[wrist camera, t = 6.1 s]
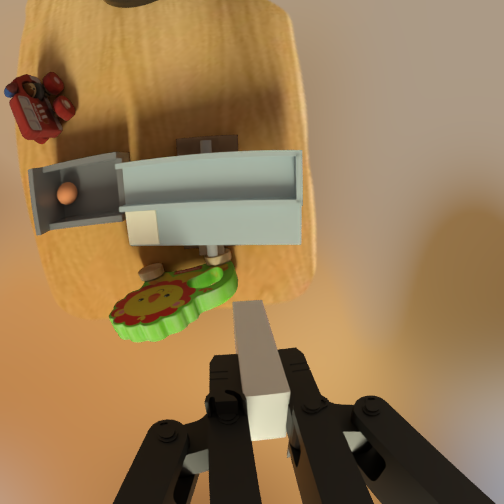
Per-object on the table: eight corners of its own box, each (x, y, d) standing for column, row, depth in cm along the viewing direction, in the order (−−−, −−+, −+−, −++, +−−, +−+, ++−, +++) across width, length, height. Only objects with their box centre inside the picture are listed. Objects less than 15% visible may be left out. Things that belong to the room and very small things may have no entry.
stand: (177, 139, 35) (169, 135, 29) (237, 135, 36) (240, 130, 30) (185, 246, 40) (179, 262, 34) (241, 242, 41) (245, 257, 35)
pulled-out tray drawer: (57, 166, 34) (28, 169, 26) (129, 152, 35) (108, 151, 27) (63, 221, 37) (36, 235, 29) (134, 213, 38) (115, 226, 30)
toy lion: (229, 242, 41) (236, 290, 26) (238, 277, 43) (248, 336, 28) (127, 268, 40) (90, 320, 26) (139, 299, 42) (111, 361, 28)
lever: (127, 150, 31) (114, 151, 28) (299, 137, 29) (301, 135, 26) (138, 253, 35) (127, 262, 32) (299, 253, 33) (301, 263, 30)
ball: (58, 183, 34) (53, 185, 31) (78, 179, 35) (73, 180, 32) (61, 205, 35) (56, 208, 32) (80, 201, 36) (76, 203, 33)
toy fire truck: (56, 66, 29) (20, 50, 19) (83, 123, 33) (46, 116, 23) (26, 95, 29) (-13, 87, 19) (51, 152, 33) (10, 154, 23)
